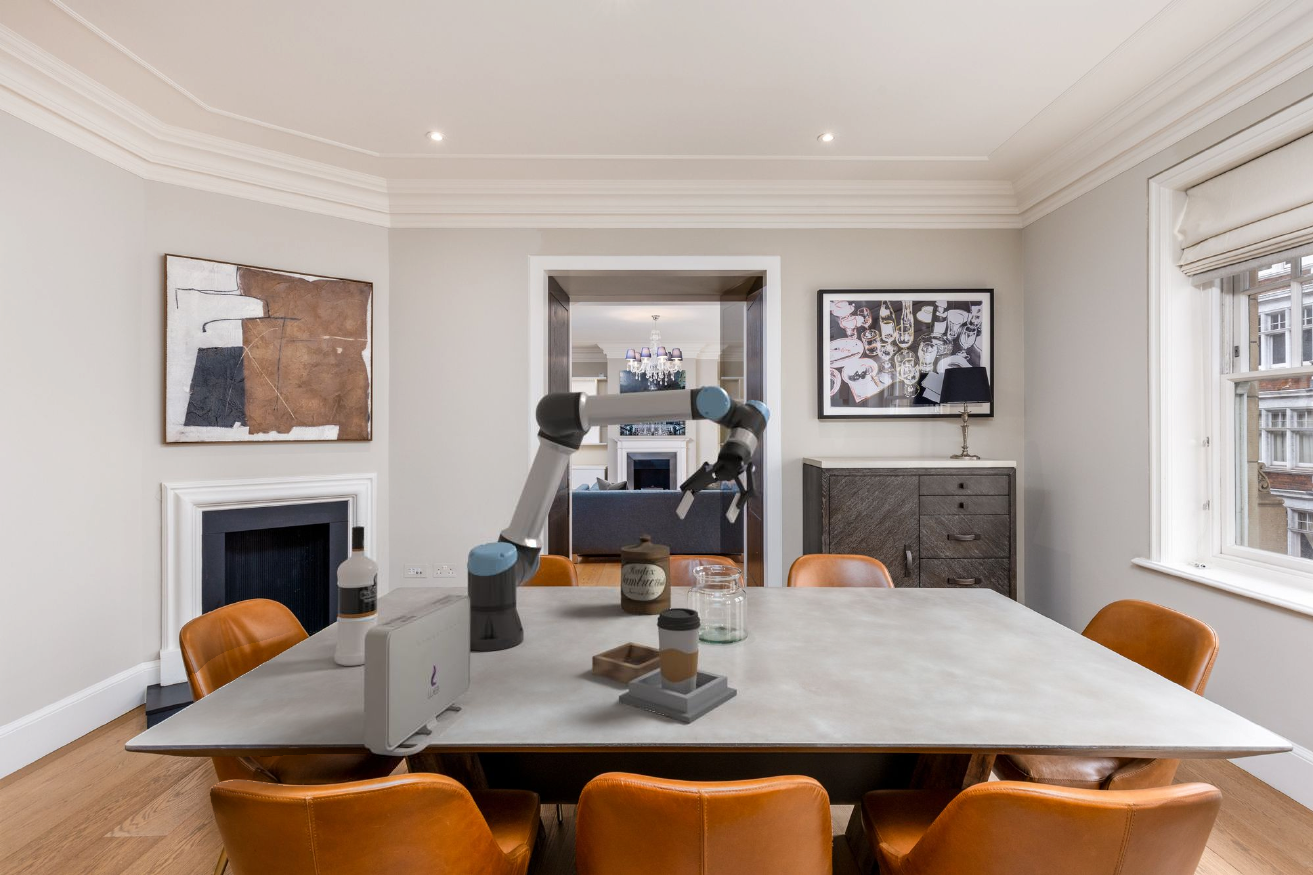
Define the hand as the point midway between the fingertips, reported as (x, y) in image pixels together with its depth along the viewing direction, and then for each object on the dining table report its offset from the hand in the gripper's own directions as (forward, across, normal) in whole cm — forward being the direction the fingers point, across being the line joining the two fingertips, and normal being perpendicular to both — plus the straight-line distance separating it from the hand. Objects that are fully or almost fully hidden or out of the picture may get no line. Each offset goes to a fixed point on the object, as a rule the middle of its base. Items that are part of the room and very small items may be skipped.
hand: (703, 517), depth 144 cm
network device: (+65, +18, +20) cm, 70 cm away
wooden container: (+4, +38, -41) cm, 56 cm away
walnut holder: (+34, +7, -11) cm, 36 cm away
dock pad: (+38, -9, -6) cm, 40 cm away
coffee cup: (+38, -9, -6) cm, 39 cm away
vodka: (+57, +61, +12) cm, 84 cm away
